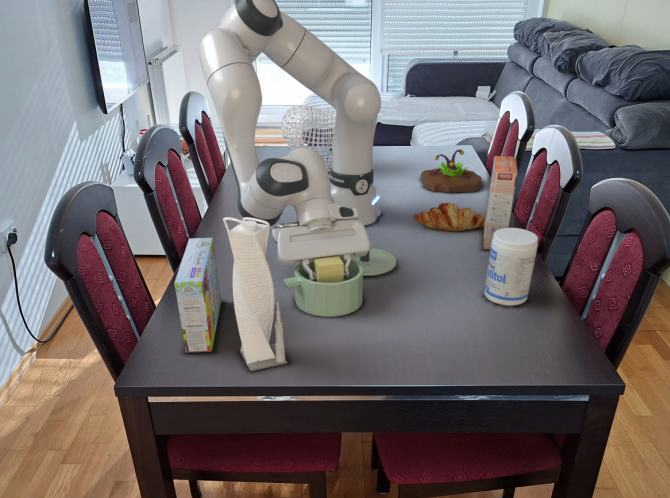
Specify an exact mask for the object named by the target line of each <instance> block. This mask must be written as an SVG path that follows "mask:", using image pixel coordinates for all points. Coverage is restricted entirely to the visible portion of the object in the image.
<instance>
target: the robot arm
mask: <svg viewBox="0 0 670 498" xmlns="http://www.w3.org/2000/svg"><path fill="white" fill-rule="evenodd" d="M280 10H281V9H280V8H279V5H278V3H277V2H276V1H275V0H235V1H234V2H233V3H232V4H231V5H230V7H229V8H228V9H227V10H226V11H225V12H224V14H223V15H222V17H221V18H220V22H218V25H217V26H216V28H214V29H212V30H209V31H207V32H206V33H205V34H204V35H203V36H202V37H201V39H200V41H199V44H198V56H199V57H198V58H199V61H200V66H201V70H202V74H203V78H204V81H205V83H206V87H207V89H208V91H209V94H210V97H211V100H212V103H213V106H214V108H215V111H216V115H217V117H218V121H219V126H220V128H221V132H222V136H223V140H224V145H225V148H226V151H227V152H226V153H227V155H228V158H229V162H230V166H231V169H232V172H233V175H234V178H235V182H236V185H237V209H238V212H239V214H240V215H241V217H242V219H243V218H245V217H249V218H256V219H260V220H264V221H266V222H268V223H269V225H270V227H272V226H274V225H275V224H277V223H278V222H279V221H280V218H281V216H282V214H283V213H284V210H285V209H286V207H287V206H292V207H293V208H294V212H295V217H296V221H290V222H286V223H285V222H281V223H278V224H277V225H275V226H274V227H272V230H271V235H272V240H273V242H275V244H276V256H277V263H278V264H279V265H280V266H282V267H287V266H288V267H289V266H296V265H297V264H301V266H302V269H303V270H304V271H305V272H306V273H307V275H309V280H311V281H317V273H316V271H314V272H312V270H311V269H310V268H309V267H308V266H309V263H313V262H314V259H315V258H325V257H334V256H339V257H340V259H342V261H343V263H345V262H346V263H345V266H344V278H345V277H348V276H349V272H348V266H349V263H350V260H351V258H353V257H361V256H365V255H366V254H367V253H368V251H369V249H370V248H371V241H370V238H369V235H368V232H367V229H366V227H365V226H368V225H372V224H374V223H375V222H376V221H377V218H378V217H379V216H381V215H382V211H381V210H380V209H378V200H379V199H380V195H378V194H377V192H378V191H377V187H376V186H375V185H374V179H375V174H374V168H373V158H374V157H373V155H374V153H373V152H374V138H375V133H376V128H377V123H378V116H379V113H380V111H381V108H382V97H381V94H380V90H379V88H378V87H377V85H376V83H374V82H373V81H372V80H371V79H369V78H368V77H366V76H365V75H363V73H360V72H359V71H358V70H356V69H355V68H354V67H353V66H352V65H351V64H349V62H347V61H346V60H345V59H343V58H342V57H341V56H340V55H338V53H336V52H335V50H333V49H332V48H331V47H330V46H328V45H327V44H326V43H325V42H324V41H322V40H321V39H319V38H318V37H317V36H316V35H315V34H314V33H312V32H311V31H310V30H309V29H307V28H306V26H304V25H302V24H301V23H299V22H298V21H297V20H295V19H294V18H292V17H291V16H289V15H288V14H287V13H285V12H282V11H280ZM262 53H263V55H265V57H267V58H268V59H269V60H270V61H272V63H274V64H275V65H276V66H277V67H278V68H280V69H281V70H283V71H284V72H285V73H286V74H287V75H289V76H290V77H291V78H293V79H294V80H295V81H297V82H298V83H300V84H301V85H302V86H304V88H306V89H308V91H310V92H312V93H313V94H315V95H316V96H317V97H319V98H320V99H321V100H323V101H324V102H326V103H327V104H328V105H329V106H331V108H335V109H336V124H335V123H334V126H335V128H334V129H335V131H334V130H333V132H334V133H333V134H334V137H333V136H332V137H333V139H332V145H331V147H332V148H330V149H329V151H332V152H330V153H331V155H332V159H331V160H332V164H331V165H332V168H329V169H331V171H329V172H328V171H327V168H326V167H327V166H326V165H325V164H326V162H324V161H325V160H323V158H322V156H321V155H320V154H321V153H320V152H318V151H316V150H317V149H316V148H314V149H313V148H308V147H303V146H301V147H299V148H296V149H293V150H292V149H291V150H290V151H289V152H288V153H287V154H285V155H283V156H281V157H269V158H266V159H264V160H262V161H260V160H259V157H258V153H257V150H256V143H255V142H256V141H255V140H256V139H255V137H256V130H257V125H258V121H259V116H260V113H261V109H262V106H263V92H262V87H261V82H260V79H259V77H258V74H257V72H256V69H255V67H254V65H253V63H254V62H255V61H256V60H257V59H258V58H259V56H260V55H261V54H262ZM325 146H327V144H325ZM328 147H329V144H328ZM319 153H320V154H319ZM245 221H252V220H245ZM255 222H256V223H257V224H264V225H267V224H265V223H262V222H257V221H255Z"/></svg>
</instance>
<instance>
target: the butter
mask: <svg viewBox="0 0 670 498" xmlns="http://www.w3.org/2000/svg"><path fill="white" fill-rule="evenodd" d="M314 271H316V273H317V281H315V282H322V283H338V282H342V281H344V263H343V262H342V260H341V259H340V257H339V256H334V257H325V258H315V259H314Z"/></svg>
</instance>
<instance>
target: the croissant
mask: <svg viewBox="0 0 670 498" xmlns="http://www.w3.org/2000/svg"><path fill="white" fill-rule="evenodd" d="M413 220H414V221H415V222H417V223H419V224H421V225H423V226H425V227H426V228H430V229H435V230H439V231H444V232H446V231H451V232H452V231H453V232H458V231H459V232H460V231H465V230H473V229H474V230H475V229H477V228H479V229H482V228H484V227H485V220H486V216H485V215H483V214H482V213H477V212H476V211H473V210H472V209H471V208H470V207H461V208H460V207H459V206H458V205H457V204H456V203H452V202H442V203H440V204H439V205H438V206H437V207H435V206H434V207H431V208H430V209H429V210H428V211H420V212H419V213H414V214H413Z"/></svg>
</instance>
